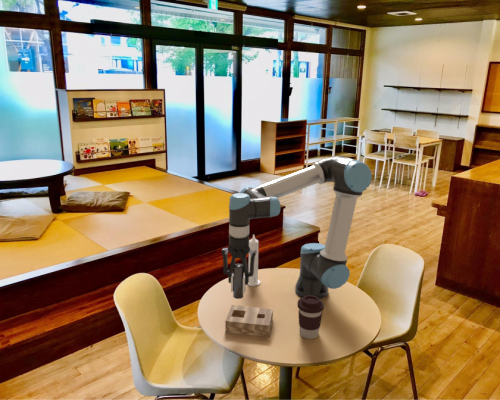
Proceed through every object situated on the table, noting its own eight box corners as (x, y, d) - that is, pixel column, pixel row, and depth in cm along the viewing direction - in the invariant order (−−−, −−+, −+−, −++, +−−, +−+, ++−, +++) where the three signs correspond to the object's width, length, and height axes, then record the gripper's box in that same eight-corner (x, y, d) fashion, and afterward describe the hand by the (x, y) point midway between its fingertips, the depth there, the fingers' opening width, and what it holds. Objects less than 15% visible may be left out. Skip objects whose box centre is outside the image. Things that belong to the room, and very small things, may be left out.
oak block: (272, 319, 172) (272, 309, 170) (268, 337, 160) (269, 325, 159) (231, 315, 174) (231, 304, 173) (225, 332, 163) (225, 320, 162)
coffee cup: (304, 323, 170) (306, 290, 165) (326, 333, 164) (329, 298, 159) (291, 334, 162) (292, 300, 158) (313, 344, 156) (315, 309, 152)
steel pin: (244, 294, 166) (244, 264, 163) (242, 299, 162) (242, 268, 159) (234, 293, 167) (234, 263, 163) (232, 298, 163) (232, 267, 159)
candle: (258, 287, 198) (259, 237, 191) (244, 285, 200) (244, 236, 193) (261, 280, 205) (262, 232, 198) (247, 279, 206) (247, 231, 199)
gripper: (263, 232, 160) (261, 288, 166) (219, 229, 162) (219, 284, 169) (260, 240, 152) (258, 297, 159) (214, 236, 155) (214, 293, 162)
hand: (238, 290), depth 164 cm, fingers closed on steel pin, 4 cm apart
